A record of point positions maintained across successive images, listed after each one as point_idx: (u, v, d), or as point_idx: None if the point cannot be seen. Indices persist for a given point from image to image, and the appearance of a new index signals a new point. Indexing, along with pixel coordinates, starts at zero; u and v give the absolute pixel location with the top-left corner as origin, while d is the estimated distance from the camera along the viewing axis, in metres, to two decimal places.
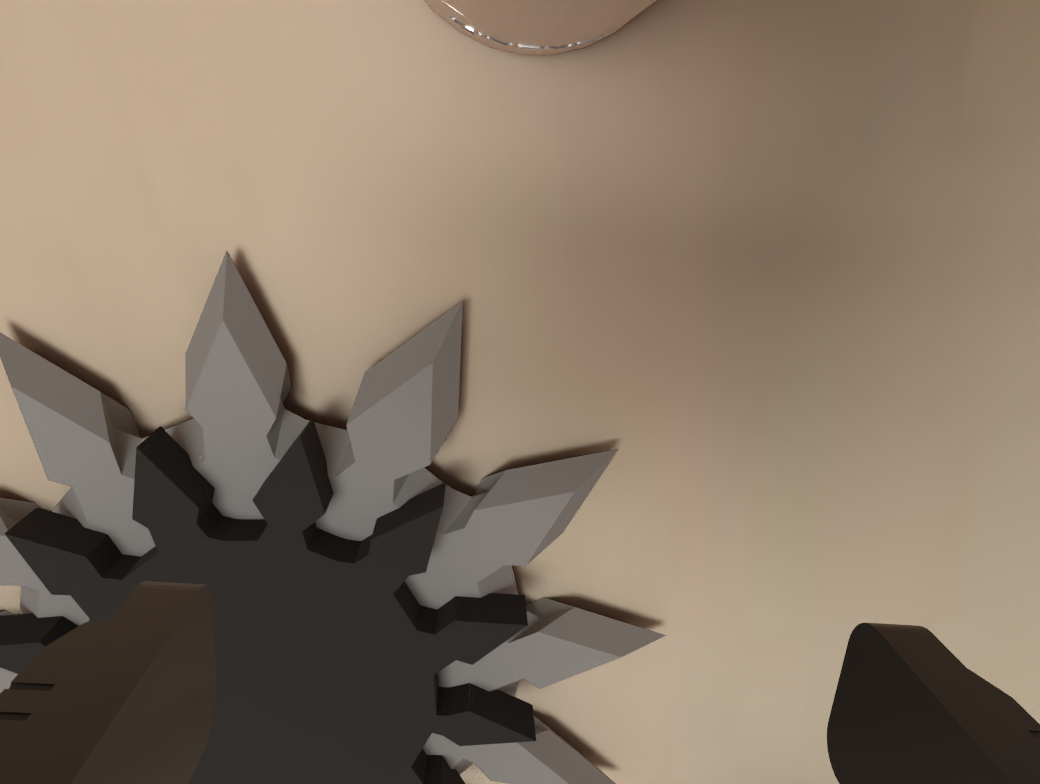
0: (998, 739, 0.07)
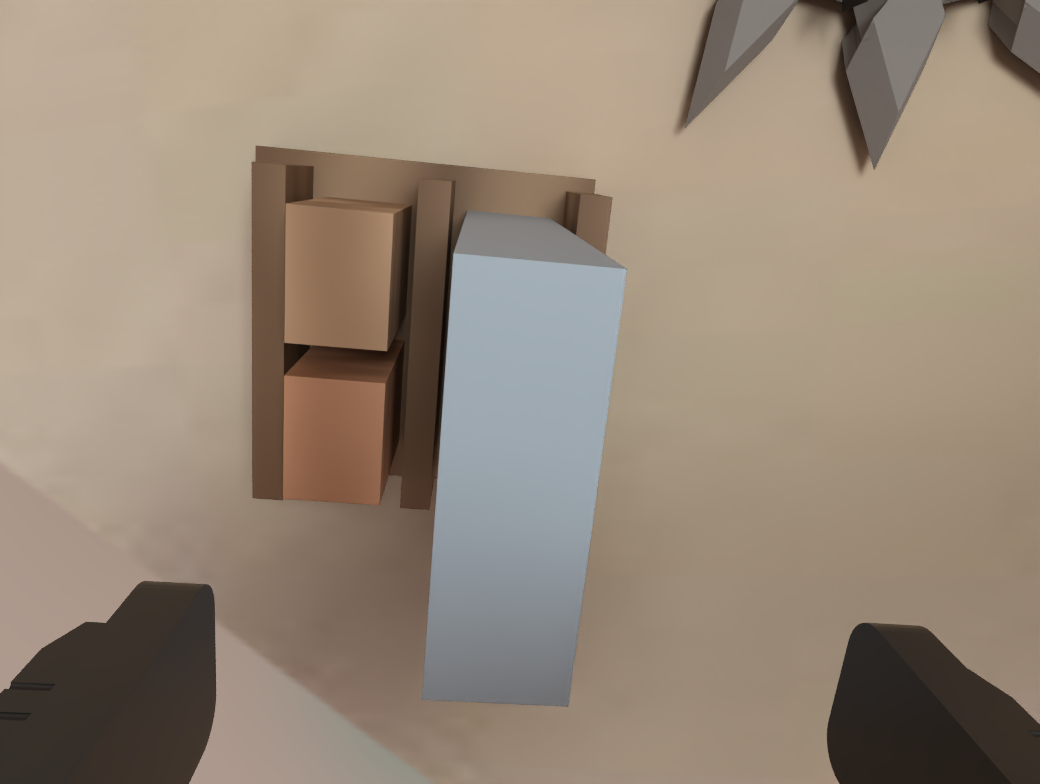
0: (998, 739, 0.07)
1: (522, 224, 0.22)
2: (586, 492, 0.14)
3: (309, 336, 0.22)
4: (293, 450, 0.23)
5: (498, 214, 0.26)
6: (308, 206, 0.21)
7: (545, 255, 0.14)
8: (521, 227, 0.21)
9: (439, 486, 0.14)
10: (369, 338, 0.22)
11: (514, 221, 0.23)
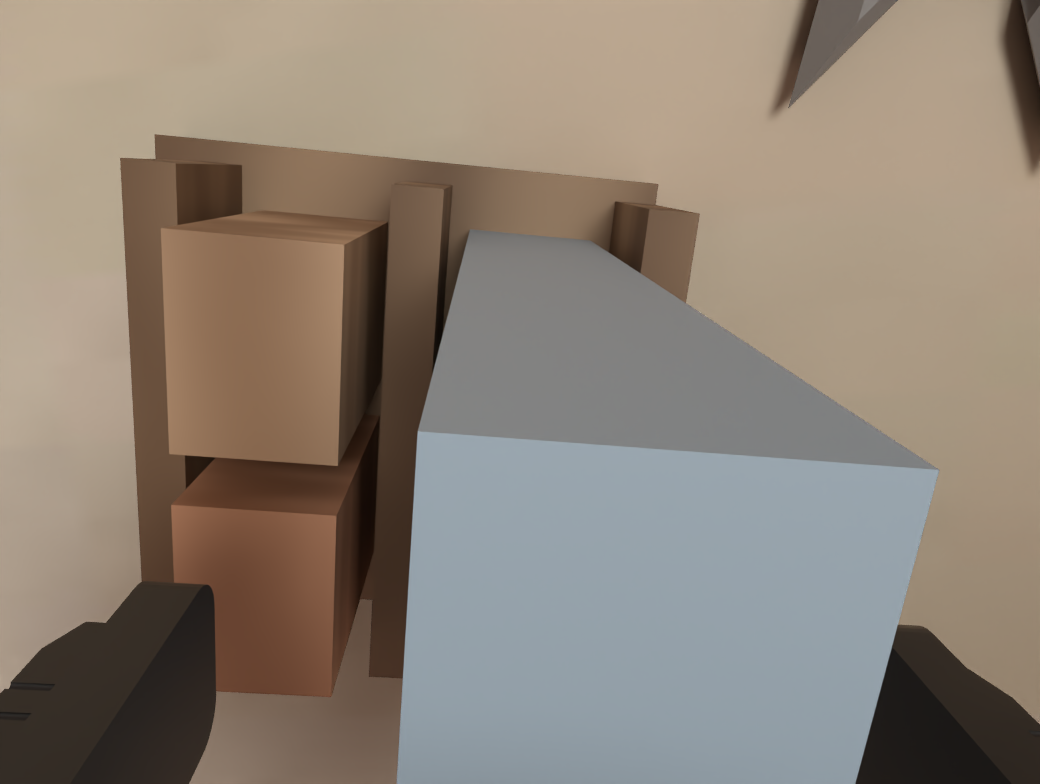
0: (997, 739, 0.07)
1: (559, 259, 0.14)
2: None
3: (210, 443, 0.14)
4: None
5: (515, 236, 0.18)
6: (200, 232, 0.12)
7: (670, 399, 0.05)
8: (560, 268, 0.12)
9: None
10: (308, 446, 0.14)
11: (543, 252, 0.15)
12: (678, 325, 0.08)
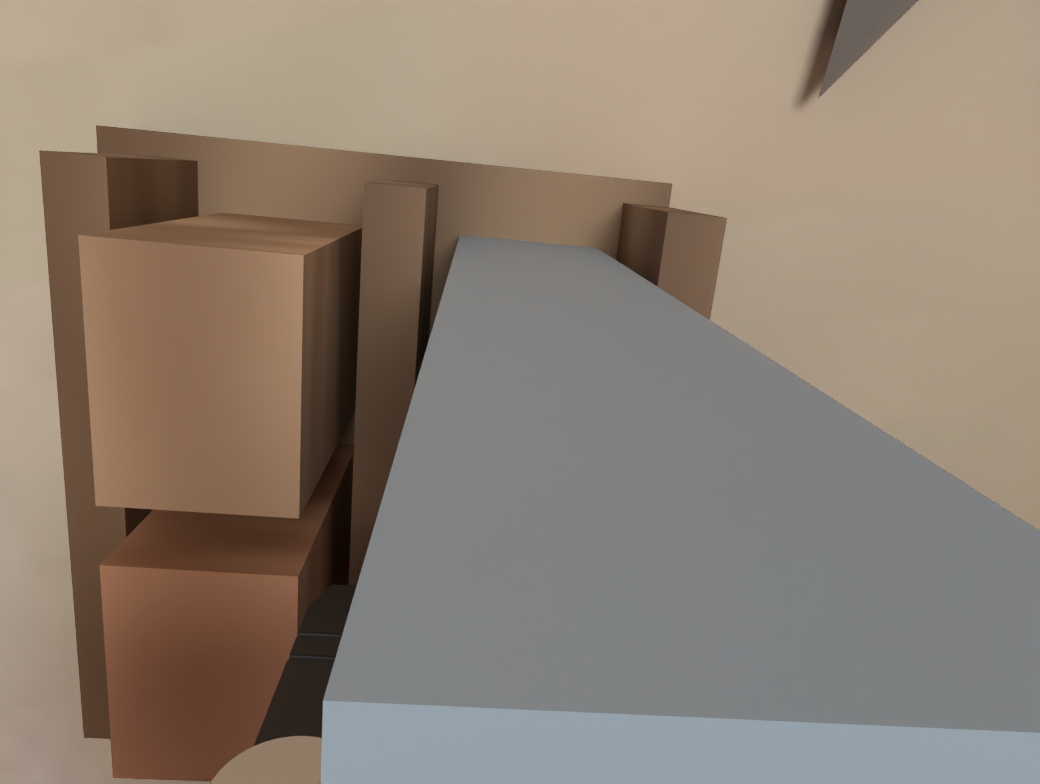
0: None
1: (564, 273, 0.11)
2: None
3: (145, 492, 0.11)
4: (127, 697, 0.12)
5: (512, 243, 0.16)
6: (127, 240, 0.10)
7: (789, 546, 0.03)
8: (568, 285, 0.10)
9: None
10: (264, 495, 0.11)
11: (545, 263, 0.12)
12: (738, 373, 0.06)
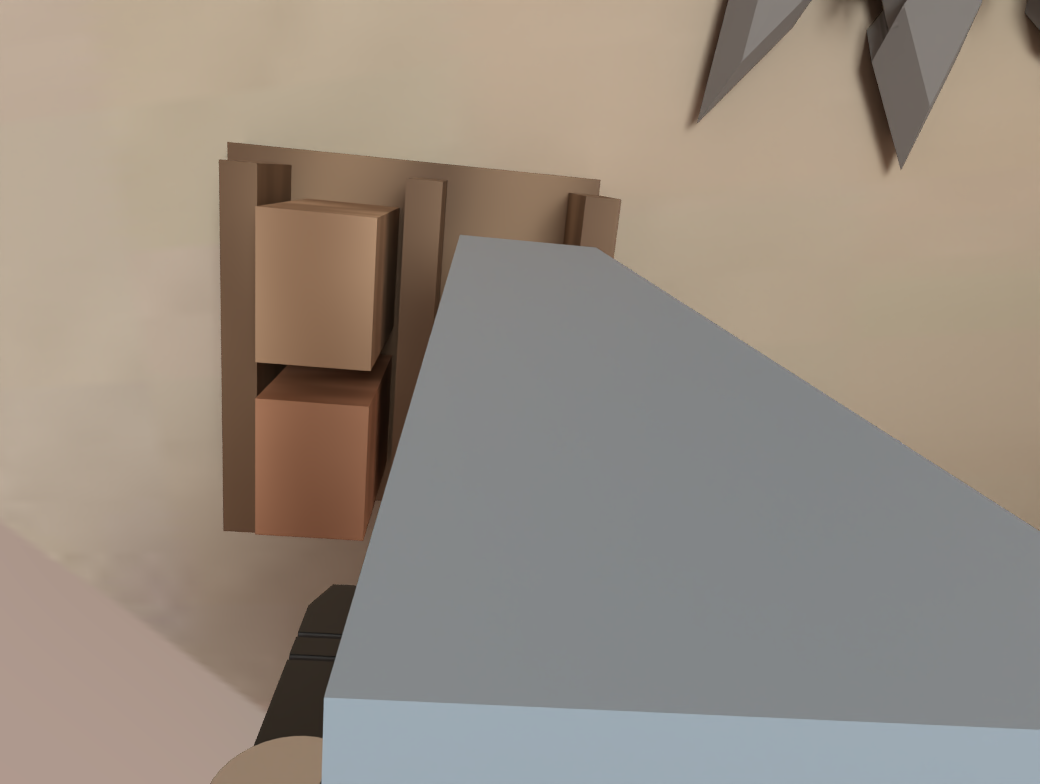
0: None
1: (564, 273, 0.11)
2: None
3: (283, 354, 0.20)
4: (266, 481, 0.21)
5: (512, 243, 0.16)
6: (281, 209, 0.19)
7: (788, 545, 0.03)
8: (568, 285, 0.10)
9: None
10: (350, 357, 0.20)
11: (545, 263, 0.12)
12: (737, 373, 0.06)
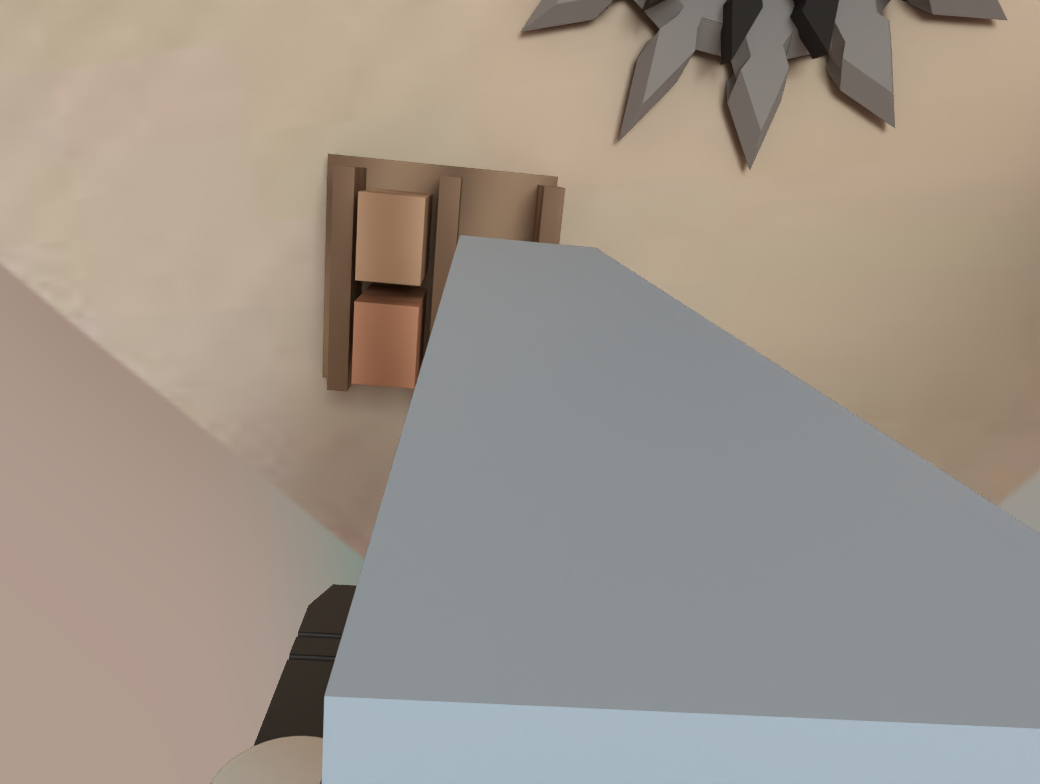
0: None
1: (564, 273, 0.11)
2: None
3: (371, 276, 0.35)
4: (359, 351, 0.36)
5: (511, 243, 0.16)
6: (372, 193, 0.34)
7: (785, 545, 0.03)
8: (567, 286, 0.10)
9: None
10: (409, 277, 0.35)
11: (545, 263, 0.12)
12: (736, 374, 0.06)
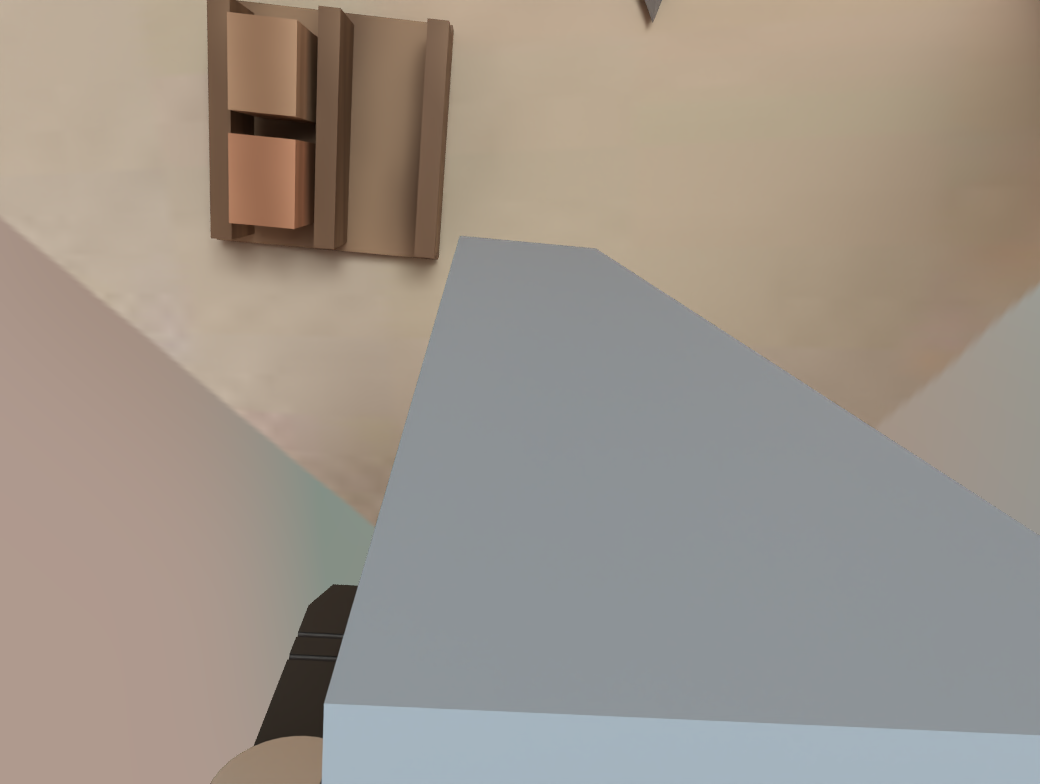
0: None
1: (564, 274, 0.11)
2: None
3: (244, 105, 0.34)
4: (235, 187, 0.35)
5: (511, 244, 0.16)
6: (241, 14, 0.33)
7: (787, 548, 0.03)
8: (568, 287, 0.10)
9: None
10: (284, 107, 0.34)
11: (545, 264, 0.12)
12: (737, 375, 0.06)
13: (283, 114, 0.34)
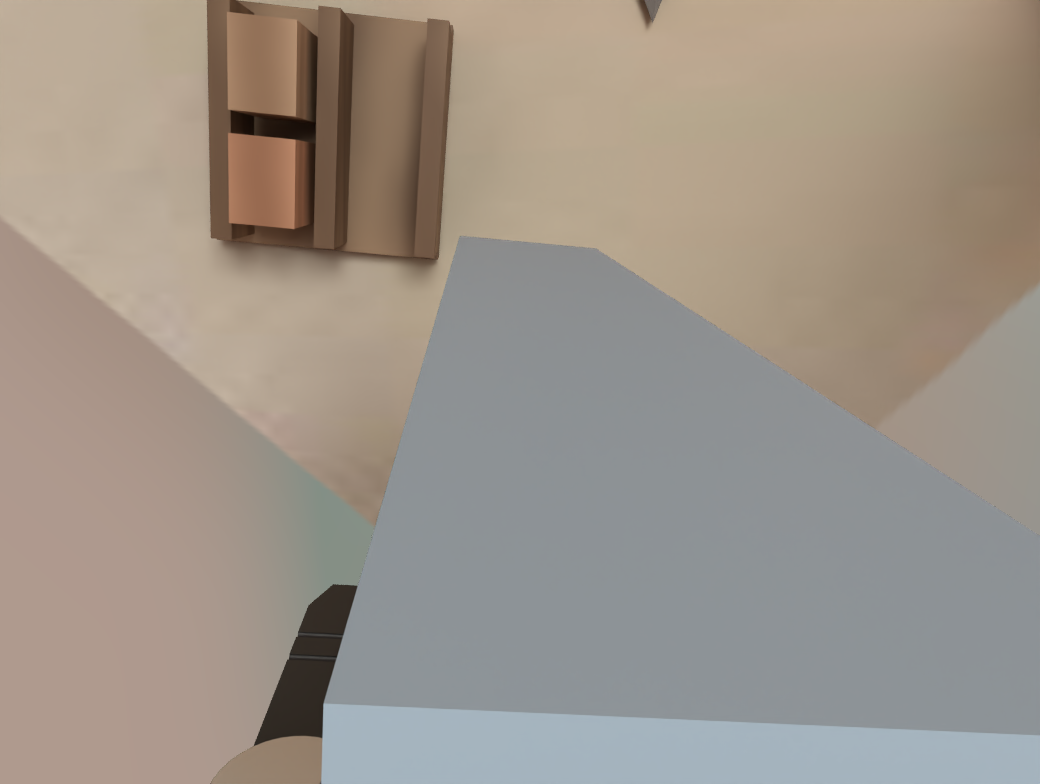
0: None
1: (564, 274, 0.11)
2: None
3: (244, 105, 0.34)
4: (235, 187, 0.35)
5: (511, 244, 0.16)
6: (241, 14, 0.33)
7: (787, 548, 0.03)
8: (568, 287, 0.10)
9: None
10: (284, 107, 0.34)
11: (545, 264, 0.12)
12: (737, 375, 0.06)
13: (283, 114, 0.34)
